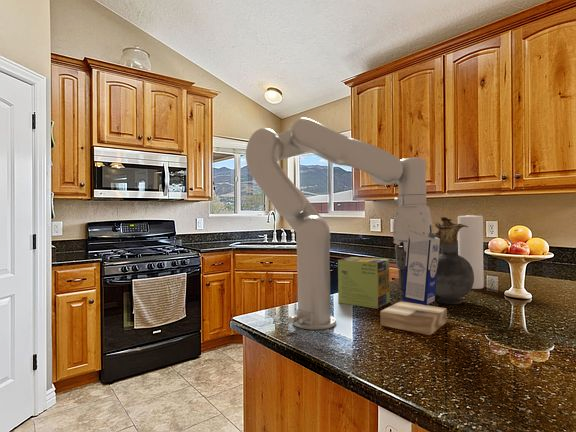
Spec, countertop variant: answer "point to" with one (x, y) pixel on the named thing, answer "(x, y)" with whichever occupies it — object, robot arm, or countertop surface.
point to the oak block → (414, 317)
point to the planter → (400, 264)
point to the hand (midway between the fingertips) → (413, 265)
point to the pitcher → (452, 266)
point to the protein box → (363, 282)
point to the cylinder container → (472, 246)
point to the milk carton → (421, 268)
